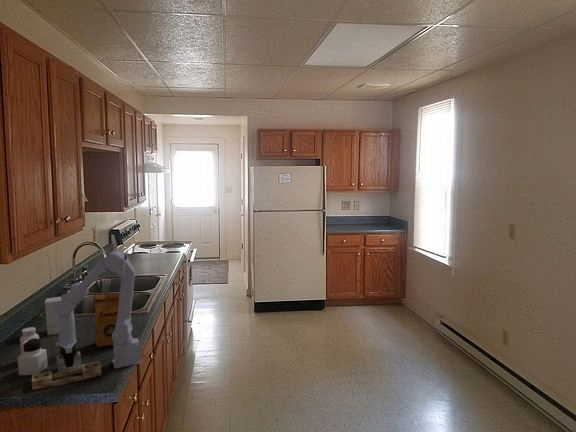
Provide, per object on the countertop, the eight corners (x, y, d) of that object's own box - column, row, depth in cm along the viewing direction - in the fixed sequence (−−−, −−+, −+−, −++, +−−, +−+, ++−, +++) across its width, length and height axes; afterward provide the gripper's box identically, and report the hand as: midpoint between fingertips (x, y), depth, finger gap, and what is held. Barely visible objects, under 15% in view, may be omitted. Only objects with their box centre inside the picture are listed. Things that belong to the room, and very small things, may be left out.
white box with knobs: (80, 363, 173) (79, 349, 173) (81, 367, 170) (80, 353, 169) (57, 368, 170) (56, 354, 169) (57, 372, 166) (56, 358, 166)
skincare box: (62, 333, 205) (60, 300, 203) (46, 336, 202) (43, 302, 200) (64, 327, 212) (62, 296, 211) (48, 329, 210) (46, 297, 208)
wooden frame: (99, 367, 169) (98, 359, 169) (101, 375, 163) (101, 367, 163) (33, 381, 159) (32, 372, 159) (32, 390, 153) (31, 381, 152)
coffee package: (126, 346, 190) (123, 295, 187) (94, 350, 186) (91, 298, 184) (127, 337, 199) (124, 289, 197) (96, 341, 195) (93, 292, 193)
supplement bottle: (44, 356, 180) (41, 326, 179) (35, 363, 174) (33, 332, 172) (27, 357, 180) (24, 326, 179) (18, 364, 173) (15, 332, 172)
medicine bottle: (48, 366, 171) (45, 336, 170) (38, 375, 164) (35, 343, 163) (29, 366, 171) (26, 336, 170) (18, 375, 164) (16, 344, 163)
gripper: (54, 325, 173) (57, 359, 174) (55, 338, 160) (58, 374, 161) (74, 322, 176) (77, 355, 177) (76, 334, 163) (79, 370, 165)
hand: (69, 364), depth 170 cm, fingers closed on white box with knobs, 4 cm apart
